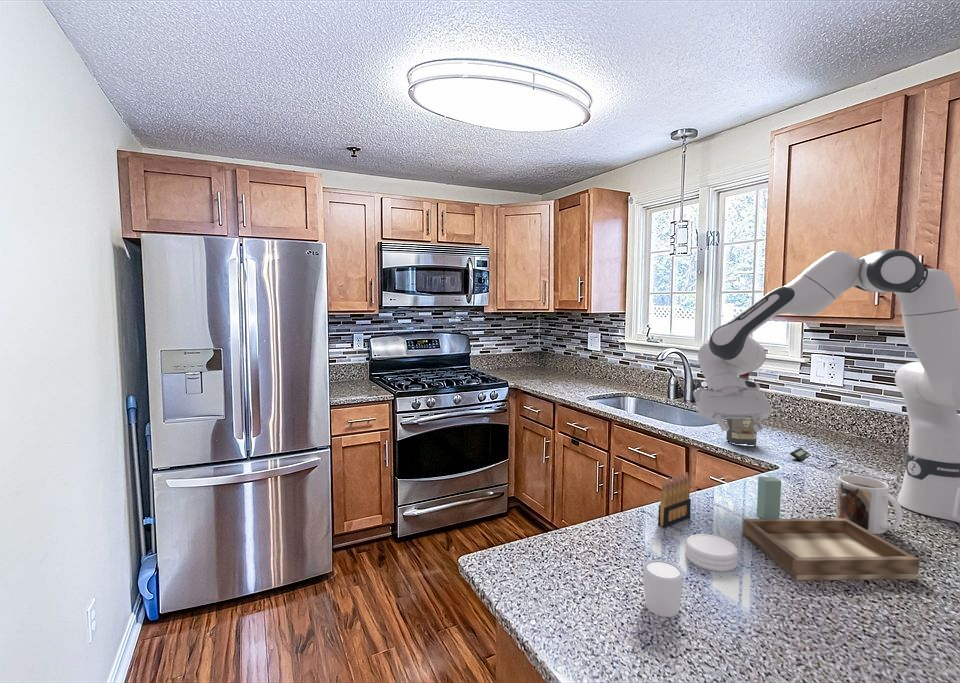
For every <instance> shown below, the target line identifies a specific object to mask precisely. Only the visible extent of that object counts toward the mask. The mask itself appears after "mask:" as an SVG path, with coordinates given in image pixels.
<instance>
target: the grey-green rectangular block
mask: <svg viewBox="0 0 960 683" xmlns="http://www.w3.org/2000/svg"><path fill="white" fill-rule="evenodd" d="M757 482H758V483H757V498H756V499H757V502H756V516H758V517H760V519H781V518H780V516H781V514H780V513H781V512H780V511H781V495H782V494H781V492H782V490H781V489H782V480H780V479H778V478H777V477H776V476H758V480H757Z"/></svg>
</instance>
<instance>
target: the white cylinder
mask: <svg viewBox="0 0 960 683" xmlns="http://www.w3.org/2000/svg"><path fill="white" fill-rule="evenodd" d="M642 573H643V576H642V577H643V589H644V590H643V591H644V604H645V607H646V609H647V610H649V612H650V613H652V614H654V615H656V616H659V617H662V618H663V617H664V618H673V617H676V616H677V615H678V614H679V612H680V604H681V598H682V590H683V584H684V578H685V572H684V571H683V569H682V568H680V567H679V566H678V565H677V564H675V563H672V562H671V561H665V560H661V559H651V560H647V561H646V562H644V563H643V566H642Z"/></svg>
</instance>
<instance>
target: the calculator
mask: <svg viewBox="0 0 960 683" xmlns="http://www.w3.org/2000/svg"><path fill="white" fill-rule="evenodd" d="M789 455H790V456H791V457H793V458H794V459H796V460H797V461H799V460H800V461H804V460H805V459H806V458H808V457H809V456H811V455H812V454H810V453H809V452H807V451H806V450H805V449H803V448H802V447H800V448H797V449H795V450H793V451H792V452H790V453H789ZM800 461H799V462H800Z"/></svg>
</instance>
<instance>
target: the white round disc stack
mask: <svg viewBox="0 0 960 683" xmlns="http://www.w3.org/2000/svg"><path fill="white" fill-rule="evenodd" d="M684 554H685V556H686V558H687V560H689V561H690V563H692V564H694V565H696V566H697V567H700V568H703V569H705V570H707V571H712V570H713V572H719V571H721V572H722V571H725V572H730V570H731V571H733V570H735V569H736V568H737V566H738V558H739V557H738V554H739V551H738V549H737V546H736V545H735V544H733V543H732V542H730V541H729V540H727V539H725V538H723V537H720V536H717V535H712V534H706V533H698V534H697V533H696V534H692V535H690V536H688V537H687V538H686V539H685V553H684ZM721 572H720V573H721ZM722 573H723V572H722Z"/></svg>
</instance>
